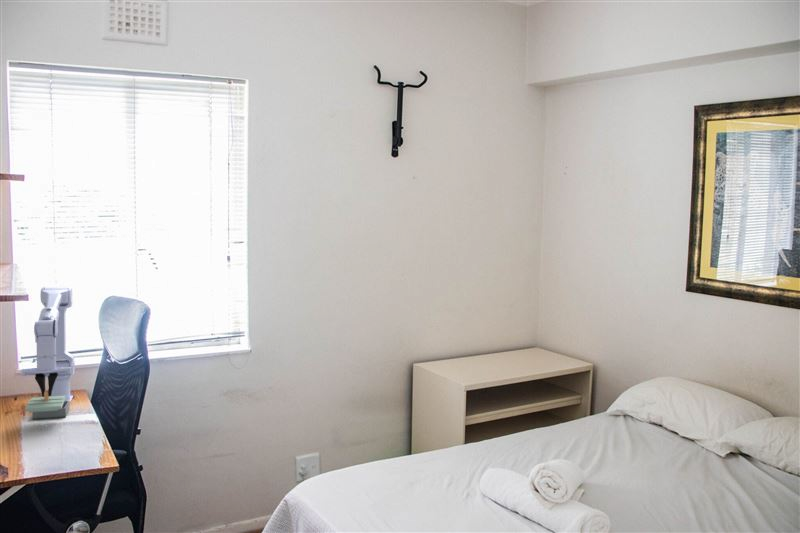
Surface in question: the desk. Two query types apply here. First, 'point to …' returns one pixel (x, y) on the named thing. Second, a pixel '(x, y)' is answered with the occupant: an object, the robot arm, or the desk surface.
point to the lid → (45, 403)
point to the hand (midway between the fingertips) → (46, 395)
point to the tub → (53, 412)
